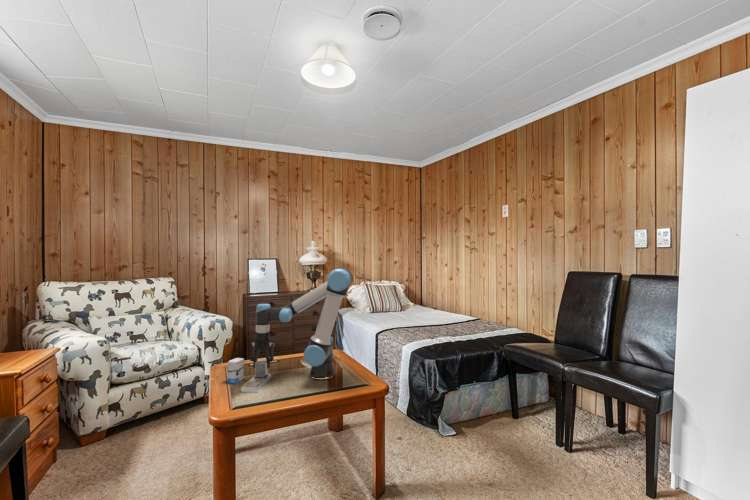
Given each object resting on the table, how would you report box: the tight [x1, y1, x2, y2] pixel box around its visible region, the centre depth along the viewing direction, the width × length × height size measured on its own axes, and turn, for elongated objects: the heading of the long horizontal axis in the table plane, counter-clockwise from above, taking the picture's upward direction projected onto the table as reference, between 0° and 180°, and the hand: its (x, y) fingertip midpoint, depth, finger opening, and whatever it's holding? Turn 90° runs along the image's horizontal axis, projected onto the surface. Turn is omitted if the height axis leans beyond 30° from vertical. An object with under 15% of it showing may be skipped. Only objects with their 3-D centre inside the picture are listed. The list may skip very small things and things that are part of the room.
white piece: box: [240, 373, 272, 393], centre depth 194 cm, size 8×22×3 cm, turn 177°
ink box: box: [226, 357, 245, 385], centre depth 200 cm, size 8×5×12 cm, turn 168°
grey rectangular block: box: [254, 360, 267, 378], centre depth 201 cm, size 5×5×10 cm
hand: (261, 373), depth 201 cm, fingers closed on grey rectangular block, 5 cm apart
